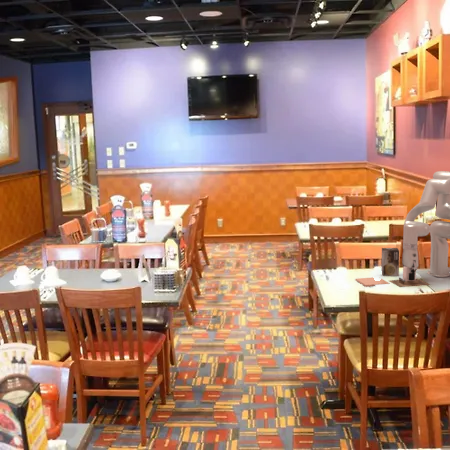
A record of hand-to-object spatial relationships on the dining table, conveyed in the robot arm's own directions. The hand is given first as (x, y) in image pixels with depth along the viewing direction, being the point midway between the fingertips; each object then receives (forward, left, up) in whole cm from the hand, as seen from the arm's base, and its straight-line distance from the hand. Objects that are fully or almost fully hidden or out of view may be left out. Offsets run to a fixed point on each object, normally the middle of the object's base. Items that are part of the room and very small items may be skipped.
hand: (409, 278), depth 333 cm
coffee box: (+2, -19, -3) cm, 19 cm away
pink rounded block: (0, 0, -2) cm, 2 cm away
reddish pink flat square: (+18, -8, -3) cm, 20 cm away
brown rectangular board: (0, 0, -3) cm, 3 cm away
